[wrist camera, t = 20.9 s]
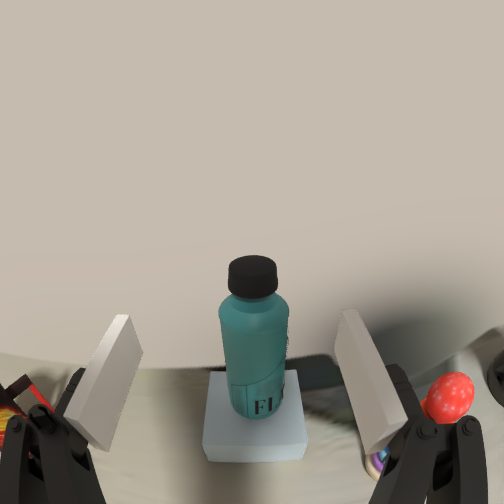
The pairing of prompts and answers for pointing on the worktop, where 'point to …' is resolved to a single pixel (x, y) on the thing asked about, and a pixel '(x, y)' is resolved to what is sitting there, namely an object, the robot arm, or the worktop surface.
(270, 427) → the block
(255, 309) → the beverage bottle
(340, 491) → the worktop surface
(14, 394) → the mug
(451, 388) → the stacking toy
